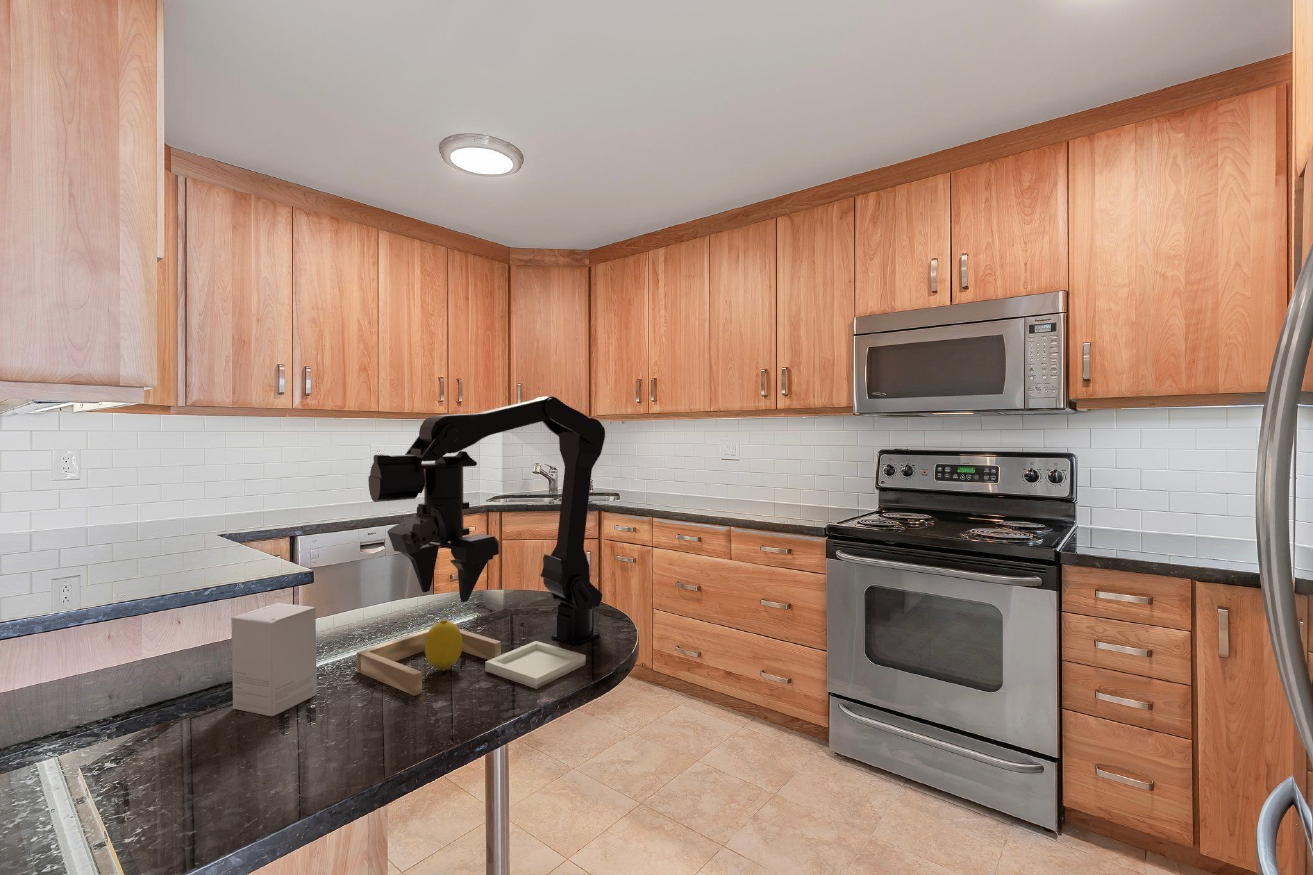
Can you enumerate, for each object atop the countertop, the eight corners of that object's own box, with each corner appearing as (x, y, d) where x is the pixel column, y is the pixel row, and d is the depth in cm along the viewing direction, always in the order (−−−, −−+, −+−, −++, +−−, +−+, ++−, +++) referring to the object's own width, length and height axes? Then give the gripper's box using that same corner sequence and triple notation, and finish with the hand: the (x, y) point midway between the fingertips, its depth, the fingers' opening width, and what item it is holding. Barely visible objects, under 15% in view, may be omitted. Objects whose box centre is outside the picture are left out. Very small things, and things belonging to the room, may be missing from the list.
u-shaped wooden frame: (443, 640, 109) (443, 624, 109) (500, 659, 101) (500, 641, 101) (356, 671, 96) (356, 652, 96) (414, 695, 88) (414, 674, 88)
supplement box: (318, 694, 88) (318, 606, 87) (271, 718, 81) (270, 622, 80) (280, 686, 90) (279, 600, 90) (230, 709, 83) (229, 616, 83)
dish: (535, 649, 106) (535, 640, 105) (585, 664, 99) (585, 655, 99) (485, 671, 96) (485, 661, 96) (536, 688, 90) (536, 678, 90)
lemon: (450, 679, 93) (450, 626, 93) (417, 675, 94) (417, 624, 94) (469, 665, 99) (469, 615, 98) (437, 661, 100) (437, 612, 100)
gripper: (359, 497, 94) (360, 599, 94) (438, 508, 84) (439, 622, 84) (423, 490, 103) (423, 582, 104) (501, 499, 93) (501, 601, 93)
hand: (444, 596), depth 96 cm, fingers open, 9 cm apart
